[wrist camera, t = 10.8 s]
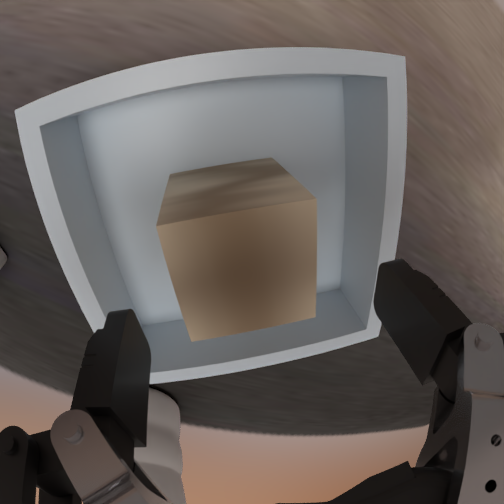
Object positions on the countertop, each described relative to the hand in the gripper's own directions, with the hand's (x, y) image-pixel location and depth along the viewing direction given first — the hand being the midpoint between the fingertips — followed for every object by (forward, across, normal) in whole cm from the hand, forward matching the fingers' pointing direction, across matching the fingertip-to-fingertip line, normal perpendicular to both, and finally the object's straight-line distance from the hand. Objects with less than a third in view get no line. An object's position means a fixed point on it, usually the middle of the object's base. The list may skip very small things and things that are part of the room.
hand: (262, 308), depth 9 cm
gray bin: (+8, 0, 0) cm, 8 cm away
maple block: (+7, 0, 0) cm, 7 cm away
